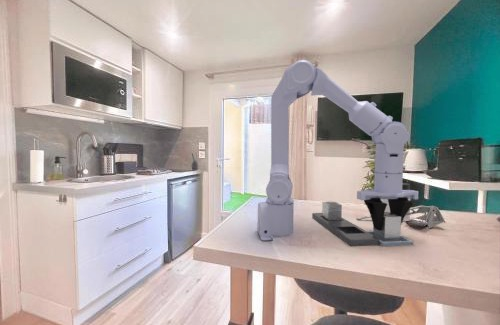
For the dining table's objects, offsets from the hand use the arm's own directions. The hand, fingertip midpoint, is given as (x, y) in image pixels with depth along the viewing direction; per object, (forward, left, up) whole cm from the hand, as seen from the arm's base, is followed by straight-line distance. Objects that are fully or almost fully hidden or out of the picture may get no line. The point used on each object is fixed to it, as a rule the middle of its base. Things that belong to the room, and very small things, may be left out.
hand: (386, 228), depth 54 cm
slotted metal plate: (-7, +8, -4) cm, 12 cm away
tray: (0, 0, -4) cm, 4 cm away
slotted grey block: (-7, +13, -3) cm, 15 cm away
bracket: (+13, +12, -4) cm, 18 cm away
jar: (+18, +19, -4) cm, 26 cm away
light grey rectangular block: (0, 0, -2) cm, 2 cm away
